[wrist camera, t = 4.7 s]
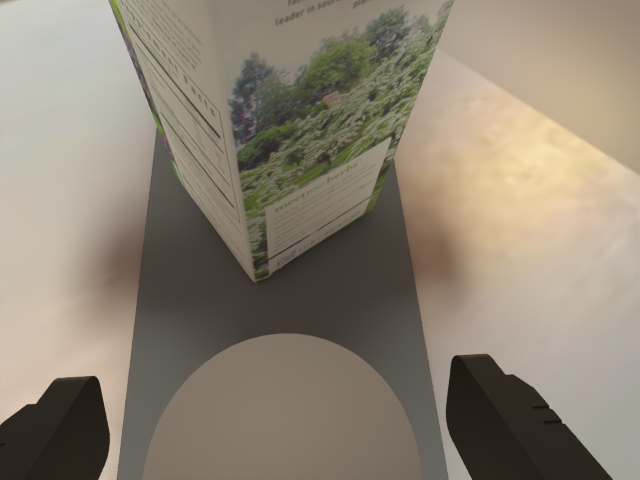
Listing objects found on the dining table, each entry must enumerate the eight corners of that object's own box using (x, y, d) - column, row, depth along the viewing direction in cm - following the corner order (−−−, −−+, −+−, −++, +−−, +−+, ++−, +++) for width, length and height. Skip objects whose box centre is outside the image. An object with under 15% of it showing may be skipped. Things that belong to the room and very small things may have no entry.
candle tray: (379, 88, 21) (438, -141, 13) (469, 624, 12) (822, 955, 4) (163, 88, 20) (79, -158, 12) (99, 667, 11) (-359, 1195, 3)
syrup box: (293, 118, 19) (306, -570, 6) (378, 215, 18) (646, -473, 4) (176, 180, 18) (-139, -599, 5) (258, 294, 16) (122, -461, 3)
